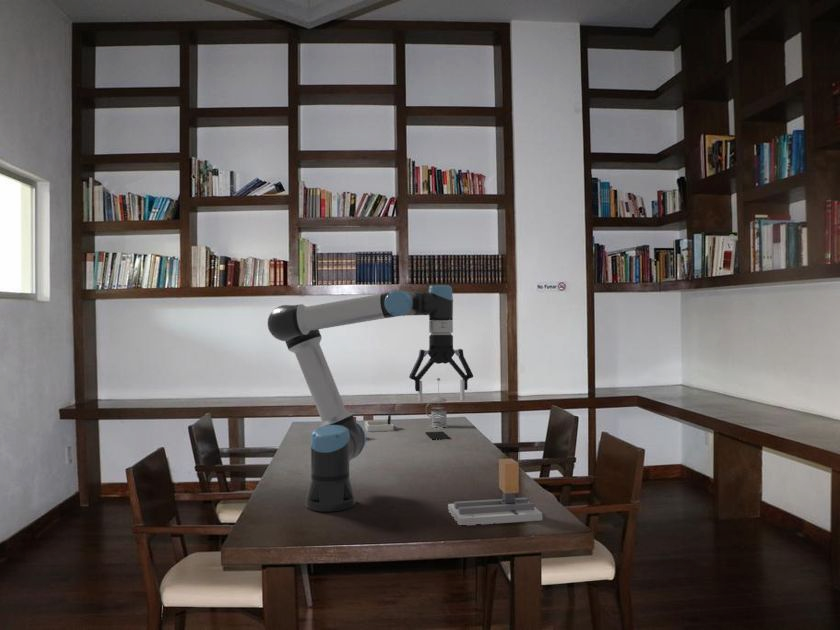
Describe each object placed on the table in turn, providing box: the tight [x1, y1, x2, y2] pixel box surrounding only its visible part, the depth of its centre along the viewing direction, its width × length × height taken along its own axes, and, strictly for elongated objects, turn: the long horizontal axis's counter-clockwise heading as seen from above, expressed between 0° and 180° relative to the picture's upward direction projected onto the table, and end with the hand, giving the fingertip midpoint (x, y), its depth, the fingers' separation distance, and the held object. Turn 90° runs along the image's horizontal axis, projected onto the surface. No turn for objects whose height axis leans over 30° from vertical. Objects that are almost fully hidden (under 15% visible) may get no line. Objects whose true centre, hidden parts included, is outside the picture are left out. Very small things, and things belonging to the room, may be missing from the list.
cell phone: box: [425, 430, 452, 441], centre depth 307 cm, size 9×18×1 cm, turn 10°
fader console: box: [447, 497, 543, 526], centre depth 187 cm, size 24×14×4 cm, turn 100°
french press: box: [425, 377, 448, 428], centre depth 332 cm, size 10×12×25 cm
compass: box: [387, 414, 392, 424], centre depth 326 cm, size 8×8×7 cm
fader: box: [498, 458, 520, 504], centre depth 188 cm, size 4×6×13 cm
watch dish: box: [364, 419, 395, 433], centre depth 327 cm, size 13×13×3 cm
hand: (441, 401), depth 205 cm, fingers open, 13 cm apart
